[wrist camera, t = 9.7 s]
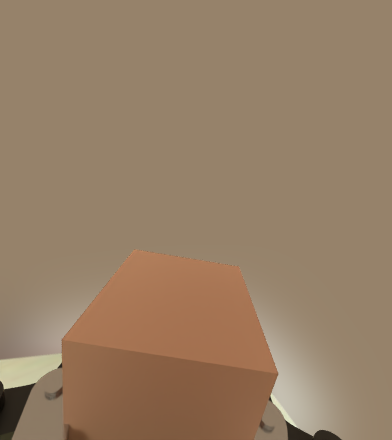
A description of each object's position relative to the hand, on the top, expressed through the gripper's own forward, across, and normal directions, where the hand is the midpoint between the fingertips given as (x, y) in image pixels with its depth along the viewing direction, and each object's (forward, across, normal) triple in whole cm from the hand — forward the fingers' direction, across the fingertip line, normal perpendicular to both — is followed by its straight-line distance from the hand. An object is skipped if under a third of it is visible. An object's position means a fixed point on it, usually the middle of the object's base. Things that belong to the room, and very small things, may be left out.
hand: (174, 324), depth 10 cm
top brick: (-3, 0, +6) cm, 7 cm away
